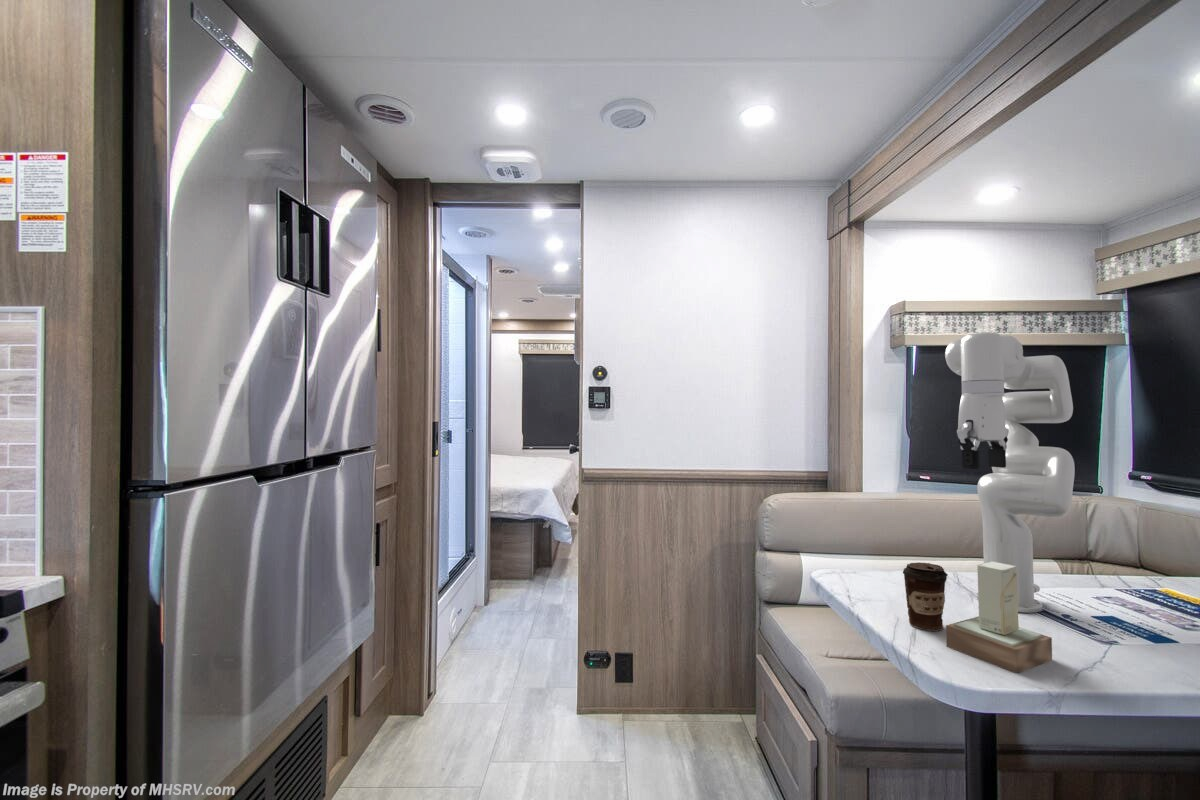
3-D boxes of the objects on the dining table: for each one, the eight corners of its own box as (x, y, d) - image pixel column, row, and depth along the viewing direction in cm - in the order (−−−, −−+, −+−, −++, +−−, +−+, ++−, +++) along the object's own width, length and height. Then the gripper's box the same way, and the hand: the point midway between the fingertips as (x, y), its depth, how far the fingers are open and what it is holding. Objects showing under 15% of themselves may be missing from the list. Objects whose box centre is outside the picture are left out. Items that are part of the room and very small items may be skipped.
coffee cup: (957, 636, 107) (955, 572, 108) (913, 632, 109) (911, 570, 110) (938, 620, 116) (937, 561, 116) (898, 617, 118) (896, 559, 118)
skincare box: (1004, 636, 97) (1002, 570, 97) (977, 628, 100) (976, 564, 101) (1019, 629, 100) (1017, 565, 100) (992, 621, 104) (991, 560, 104)
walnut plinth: (982, 635, 108) (981, 613, 108) (1052, 659, 97) (1051, 635, 97) (946, 646, 103) (945, 623, 103) (1016, 673, 92) (1015, 647, 92)
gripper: (986, 391, 121) (988, 465, 120) (940, 389, 114) (942, 468, 113) (1024, 389, 114) (1026, 467, 114) (977, 387, 107) (979, 471, 106)
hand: (984, 467), depth 113 cm, fingers open, 9 cm apart
